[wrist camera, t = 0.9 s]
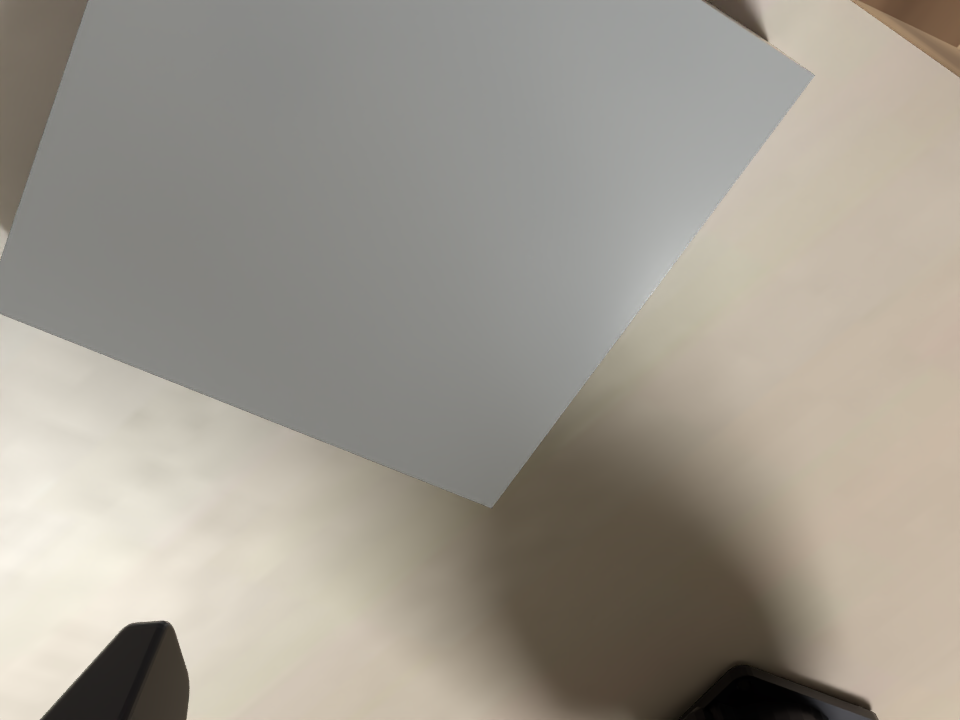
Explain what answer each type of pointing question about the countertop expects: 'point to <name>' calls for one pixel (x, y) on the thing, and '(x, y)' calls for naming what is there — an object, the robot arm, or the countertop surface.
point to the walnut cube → (923, 25)
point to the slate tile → (384, 204)
